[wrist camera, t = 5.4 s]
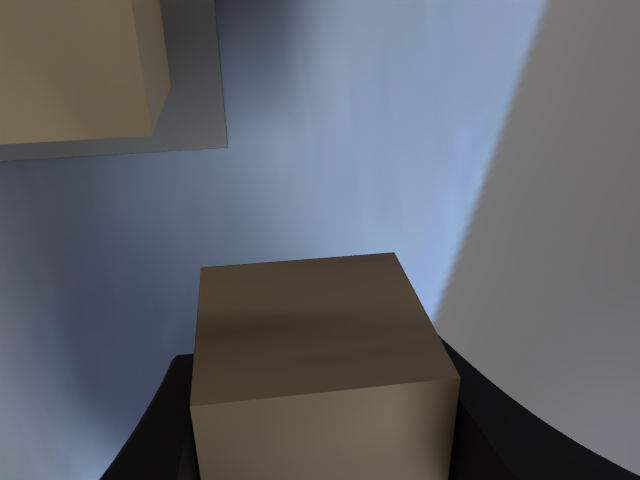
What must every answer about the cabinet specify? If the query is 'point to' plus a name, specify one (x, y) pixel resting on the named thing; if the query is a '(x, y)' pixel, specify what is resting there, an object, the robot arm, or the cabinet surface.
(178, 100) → the tower base
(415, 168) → the cabinet surface
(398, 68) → the cabinet surface
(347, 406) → the walnut block
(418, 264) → the cabinet surface
